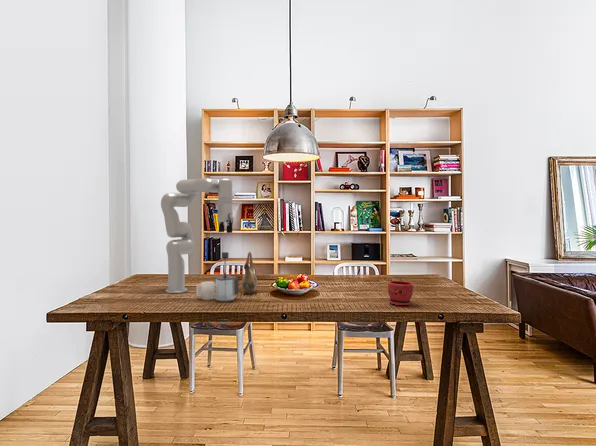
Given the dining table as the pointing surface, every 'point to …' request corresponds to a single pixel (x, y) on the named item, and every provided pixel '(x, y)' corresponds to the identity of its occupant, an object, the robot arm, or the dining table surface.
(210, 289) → the mug
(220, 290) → the press carafe
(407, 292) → the plant pot
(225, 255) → the plunger
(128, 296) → the dining table surface
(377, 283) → the dining table surface
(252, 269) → the ceramic vessel
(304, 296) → the dining table surface
